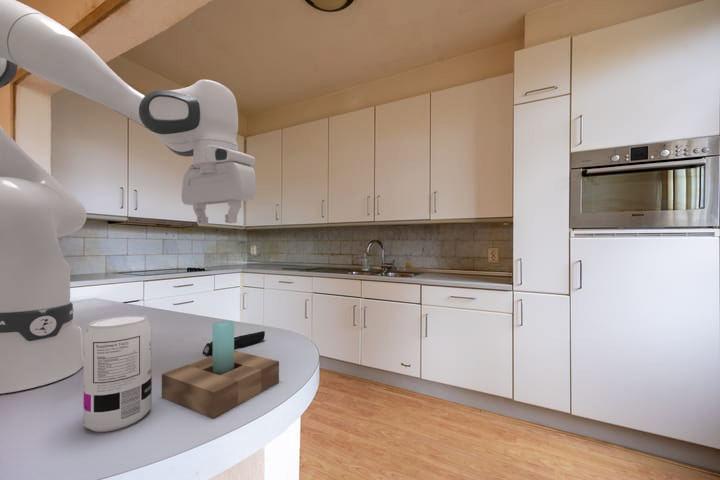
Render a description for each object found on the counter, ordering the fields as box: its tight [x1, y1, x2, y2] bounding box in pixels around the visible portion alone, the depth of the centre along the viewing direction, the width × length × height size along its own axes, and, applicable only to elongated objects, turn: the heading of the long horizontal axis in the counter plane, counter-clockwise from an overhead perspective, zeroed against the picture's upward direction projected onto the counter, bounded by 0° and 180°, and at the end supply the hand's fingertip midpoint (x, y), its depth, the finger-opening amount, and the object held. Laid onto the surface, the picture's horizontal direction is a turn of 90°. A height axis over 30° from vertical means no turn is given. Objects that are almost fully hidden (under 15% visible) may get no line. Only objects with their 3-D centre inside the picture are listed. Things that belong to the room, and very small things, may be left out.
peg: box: [212, 320, 235, 375], centre depth 57 cm, size 4×4×12 cm
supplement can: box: [83, 314, 153, 433], centre depth 48 cm, size 8×8×15 cm
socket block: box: [161, 350, 280, 419], centre depth 57 cm, size 14×14×4 cm
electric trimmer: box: [202, 330, 266, 357], centre depth 80 cm, size 4×16×3 cm, turn 135°
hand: (216, 223), depth 67 cm, fingers open, 8 cm apart
